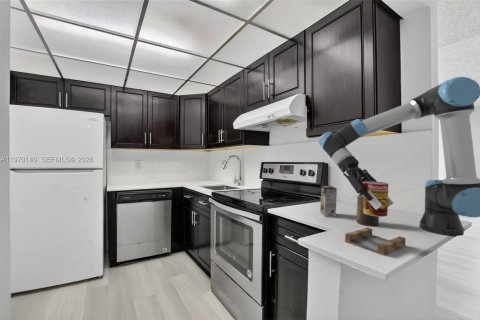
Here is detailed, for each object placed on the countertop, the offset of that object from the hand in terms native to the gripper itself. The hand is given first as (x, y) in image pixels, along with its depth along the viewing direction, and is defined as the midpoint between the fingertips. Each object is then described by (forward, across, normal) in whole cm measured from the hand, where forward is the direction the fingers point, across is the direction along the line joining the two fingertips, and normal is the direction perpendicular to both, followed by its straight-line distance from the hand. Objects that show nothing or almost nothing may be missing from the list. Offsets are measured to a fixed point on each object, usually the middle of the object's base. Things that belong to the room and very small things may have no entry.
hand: (385, 206), depth 82 cm
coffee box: (-17, -21, -39) cm, 47 cm away
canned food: (0, 0, -5) cm, 5 cm away
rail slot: (+8, 0, -13) cm, 15 cm away
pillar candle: (-3, -25, -24) cm, 35 cm away
